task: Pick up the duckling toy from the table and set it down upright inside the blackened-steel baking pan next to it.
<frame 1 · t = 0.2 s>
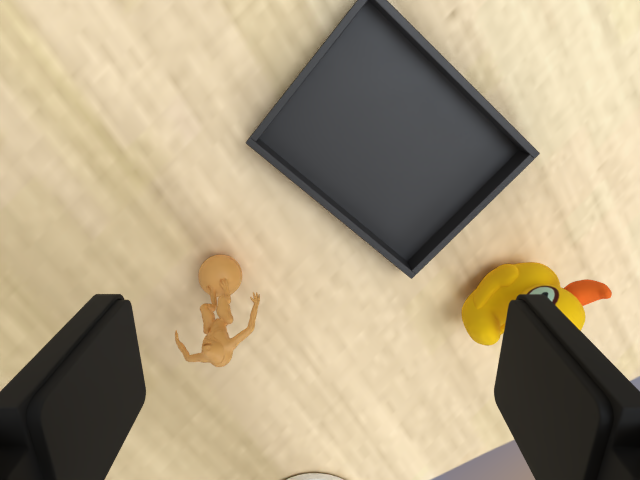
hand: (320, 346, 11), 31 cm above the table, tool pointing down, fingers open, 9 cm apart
pan: (388, 143, 40), on the table
figurine: (230, 274, 45), on the table
duckling: (502, 280, 45), on the table
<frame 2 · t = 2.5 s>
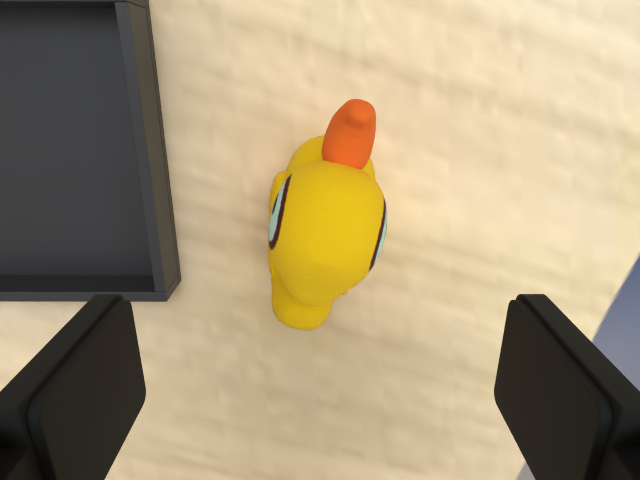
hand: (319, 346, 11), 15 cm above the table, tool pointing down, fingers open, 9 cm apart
duckling: (321, 197, 26), on the table
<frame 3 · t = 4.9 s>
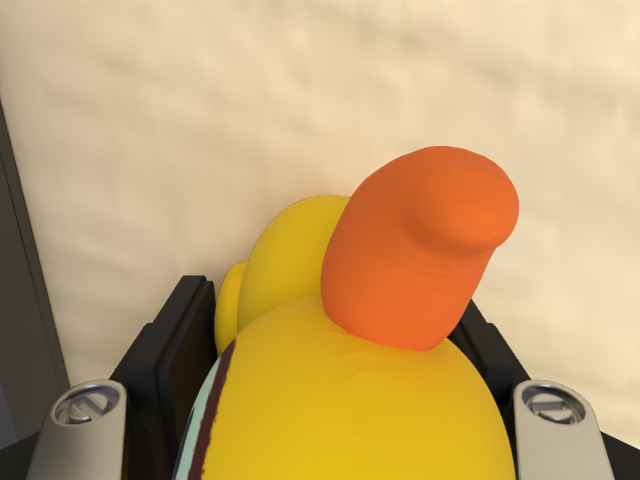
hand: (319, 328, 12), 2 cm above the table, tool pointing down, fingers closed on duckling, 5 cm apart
duckling: (320, 288, 14), on the table, touching gripper
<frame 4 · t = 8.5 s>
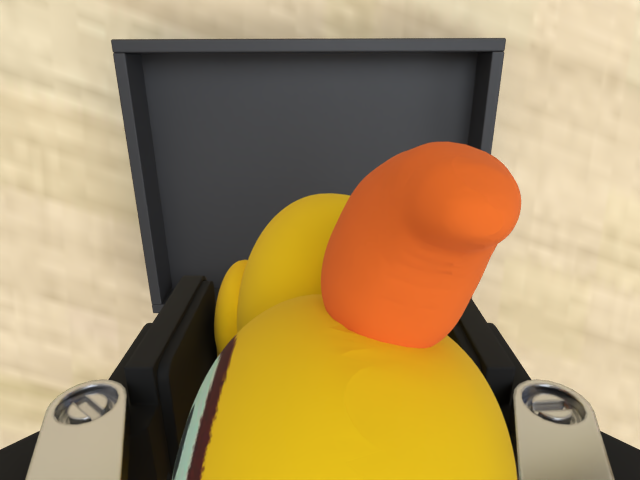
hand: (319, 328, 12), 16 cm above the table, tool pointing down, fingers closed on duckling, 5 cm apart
pan: (310, 179, 27), on the table
duckling: (320, 287, 14), point 14 cm above the table, touching gripper
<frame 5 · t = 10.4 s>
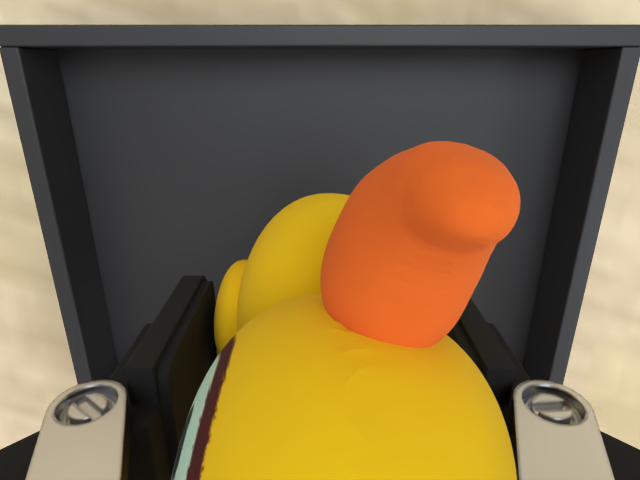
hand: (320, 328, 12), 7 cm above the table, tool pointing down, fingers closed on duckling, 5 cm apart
pan: (320, 235, 19), on the table
duckling: (320, 287, 14), point 5 cm above the table, touching gripper
when the fingers open (3 cm above the table, at t = 12.0 s): duckling stays where it is, resting on pan.
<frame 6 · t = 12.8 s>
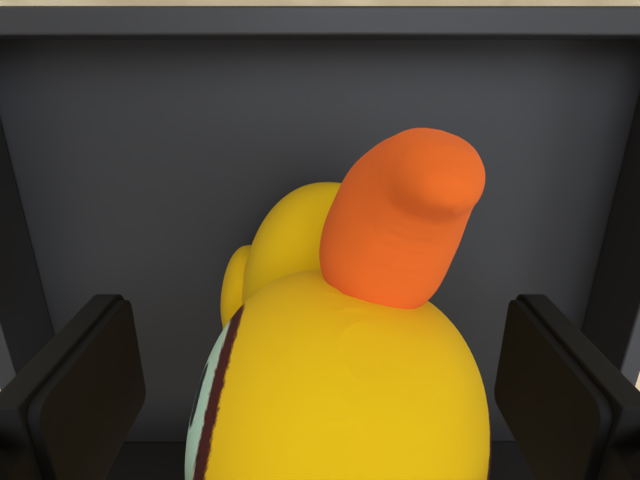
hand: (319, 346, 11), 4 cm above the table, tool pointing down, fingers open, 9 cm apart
pan: (317, 268, 15), on the table
duckling: (319, 273, 15), resting on pan
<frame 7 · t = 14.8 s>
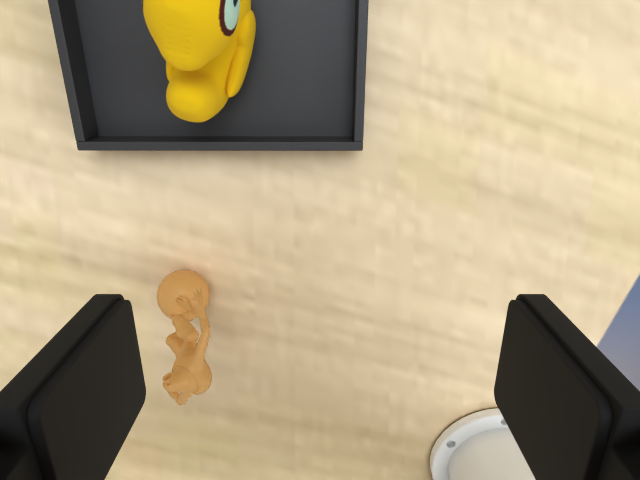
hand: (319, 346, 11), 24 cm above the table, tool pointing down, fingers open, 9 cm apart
pan: (219, 28, 30), on the table
figurine: (202, 286, 38), on the table
duckling: (219, 28, 30), resting on pan
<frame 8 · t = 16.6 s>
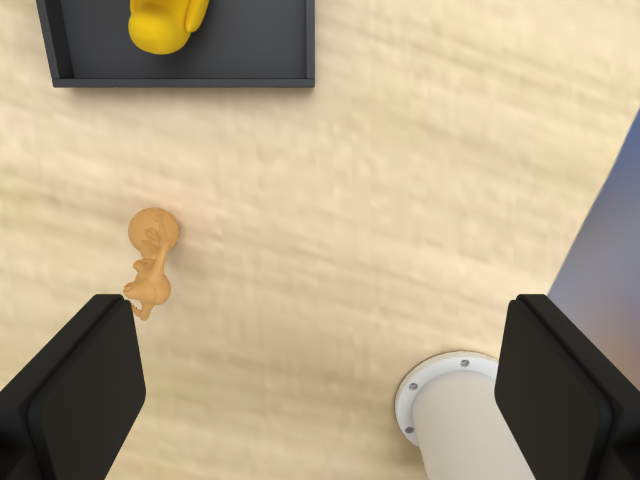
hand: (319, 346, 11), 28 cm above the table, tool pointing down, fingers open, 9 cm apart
figurine: (173, 227, 40), on the table
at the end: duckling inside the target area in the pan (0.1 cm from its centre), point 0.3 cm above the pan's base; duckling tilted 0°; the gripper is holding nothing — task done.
